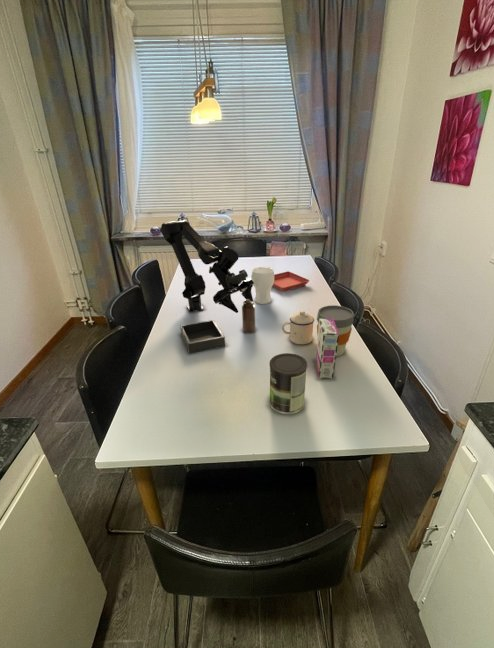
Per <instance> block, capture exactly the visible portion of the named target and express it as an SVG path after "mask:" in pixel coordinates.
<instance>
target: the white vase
mask: <svg viewBox="0 0 494 648" xmlns="http://www.w3.org/2000/svg"><path fill="white" fill-rule="evenodd" d="M274 275H275V271H274V269H273V268H272V267H269V266H259V267H254V268H252V271H251V275H250V276H251V278H250V279H252V281H253V282H254V284H253V288H254V291H255V296H254V303H256V304H262V305H264V304H265V305H266V304H269V303H271V302H272V297H271V290H272V287H273V283H274Z"/></svg>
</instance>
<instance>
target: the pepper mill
mask: <svg viewBox="0 0 494 648" xmlns="http://www.w3.org/2000/svg"><path fill="white" fill-rule="evenodd" d="M253 301H254V300H253ZM253 301H250V299H245V300H244V301H243V302H242V305H241V319H242V321H241V322H242V331H243V332H244V333H248V334H251V333H253V332H255V331H256V308H255V307H256V306H255V304H254V305H253Z"/></svg>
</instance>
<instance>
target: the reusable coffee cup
mask: <svg viewBox="0 0 494 648" xmlns="http://www.w3.org/2000/svg"><path fill="white" fill-rule="evenodd" d="M316 315H317V316H316V321H317V324H316V337H317V338H318V329H319V319H334V322H335V324H336V327H337V330H338V333H339V340H338V347H337V354H336V357H339V356H342V355H343V354H344V353H345V350H346V346H347V343H349V340H350V337H351V333H352V329H353V328H352V326H353V324H354V321H355V319H354V318H355V313H354V311H353V310H352V309H351V308H349V307H346V306H342V305H335V304H334V305H325V306H322V307H320V308H319V309H318V311H317V314H316Z"/></svg>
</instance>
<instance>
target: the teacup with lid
mask: <svg viewBox="0 0 494 648" xmlns="http://www.w3.org/2000/svg"><path fill="white" fill-rule="evenodd" d="M314 322H315V317H314V316H313V315H312V314H310V313H307V312H306V311H305V310H300V311H299V312H296V313H293V314H292V315H290V317H289V321H285V322H284V323H283V324H282V325H281V331H282V332H283V333H284V334H286V335H289V340H290V341H291V342H292V343H293V344H296V345H307V344H310V343H311V342H312V341H313V333H314ZM286 325H289V331H286V330H285V326H286Z"/></svg>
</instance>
